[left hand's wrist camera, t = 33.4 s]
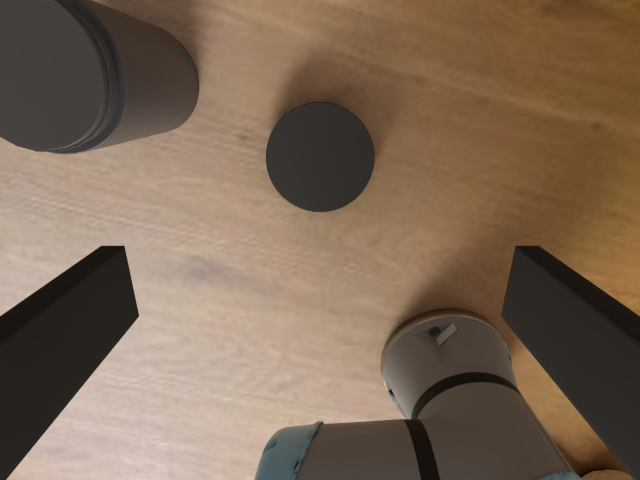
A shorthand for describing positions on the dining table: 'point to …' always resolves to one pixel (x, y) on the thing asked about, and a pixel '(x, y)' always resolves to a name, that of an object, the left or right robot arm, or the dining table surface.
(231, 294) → the dining table surface
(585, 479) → the bowl
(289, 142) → the lid
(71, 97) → the jar
